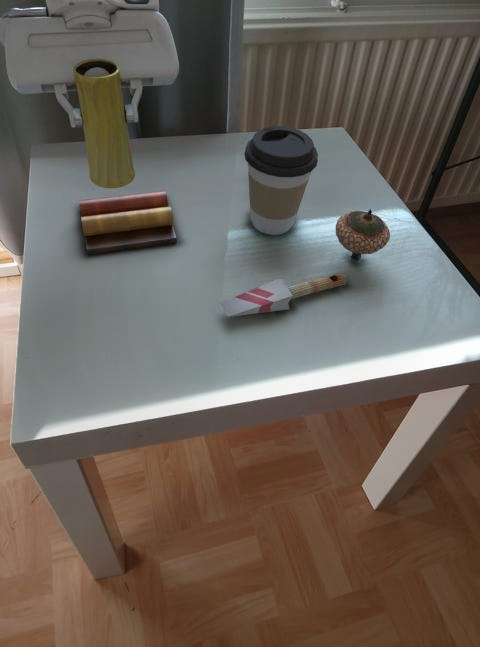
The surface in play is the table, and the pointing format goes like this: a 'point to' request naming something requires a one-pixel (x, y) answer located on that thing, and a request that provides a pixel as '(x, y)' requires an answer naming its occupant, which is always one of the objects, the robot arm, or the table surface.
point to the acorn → (362, 233)
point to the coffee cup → (278, 176)
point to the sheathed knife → (277, 295)
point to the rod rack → (127, 222)
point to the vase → (104, 124)
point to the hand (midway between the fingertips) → (105, 123)
